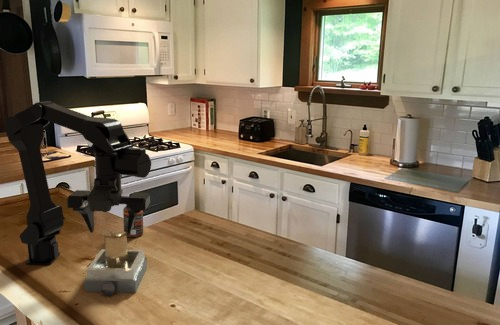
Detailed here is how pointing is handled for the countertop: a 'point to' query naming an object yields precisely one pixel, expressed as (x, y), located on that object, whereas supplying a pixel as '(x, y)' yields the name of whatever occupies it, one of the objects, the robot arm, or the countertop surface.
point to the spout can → (116, 249)
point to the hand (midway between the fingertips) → (110, 232)
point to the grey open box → (115, 274)
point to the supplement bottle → (137, 226)
